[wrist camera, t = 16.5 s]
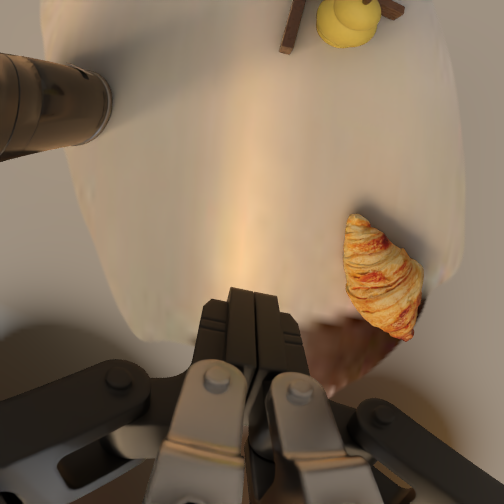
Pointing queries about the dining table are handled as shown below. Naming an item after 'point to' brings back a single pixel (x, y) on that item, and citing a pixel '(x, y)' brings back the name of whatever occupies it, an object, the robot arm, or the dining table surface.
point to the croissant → (381, 279)
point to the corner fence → (291, 29)
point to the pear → (347, 21)
